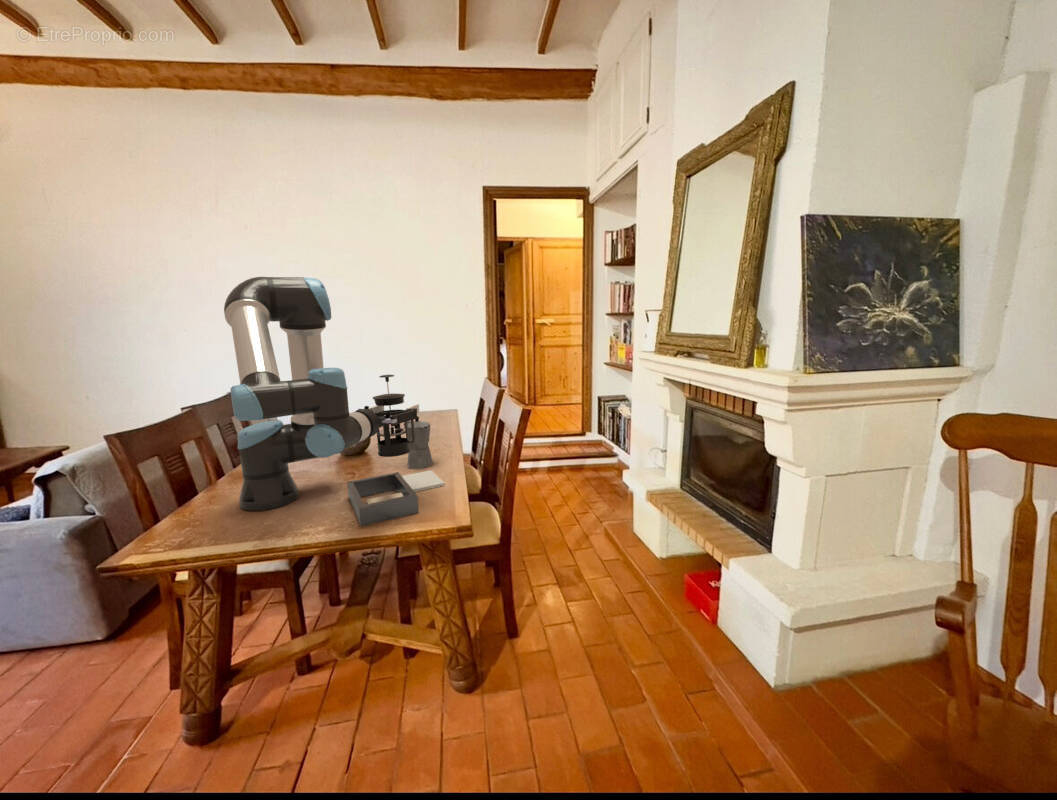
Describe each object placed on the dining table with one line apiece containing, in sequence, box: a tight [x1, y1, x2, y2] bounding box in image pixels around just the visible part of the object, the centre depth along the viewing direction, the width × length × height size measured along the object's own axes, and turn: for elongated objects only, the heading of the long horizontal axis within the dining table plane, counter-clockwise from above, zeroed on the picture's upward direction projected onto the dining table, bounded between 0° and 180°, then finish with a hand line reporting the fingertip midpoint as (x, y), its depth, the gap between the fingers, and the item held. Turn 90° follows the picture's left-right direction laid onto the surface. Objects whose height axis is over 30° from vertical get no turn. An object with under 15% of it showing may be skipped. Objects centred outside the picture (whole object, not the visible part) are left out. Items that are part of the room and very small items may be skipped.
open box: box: [346, 471, 420, 528], centre depth 125 cm, size 15×22×5 cm
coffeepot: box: [403, 415, 434, 470], centre depth 159 cm, size 15×9×18 cm, turn 45°
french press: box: [372, 374, 416, 458], centre depth 128 cm, size 12×9×23 cm
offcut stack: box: [366, 492, 403, 504], centre depth 119 cm, size 11×4×5 cm, turn 120°
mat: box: [401, 469, 446, 493], centre depth 142 cm, size 11×14×1 cm
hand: (400, 408), depth 131 cm, fingers closed on french press, 11 cm apart
